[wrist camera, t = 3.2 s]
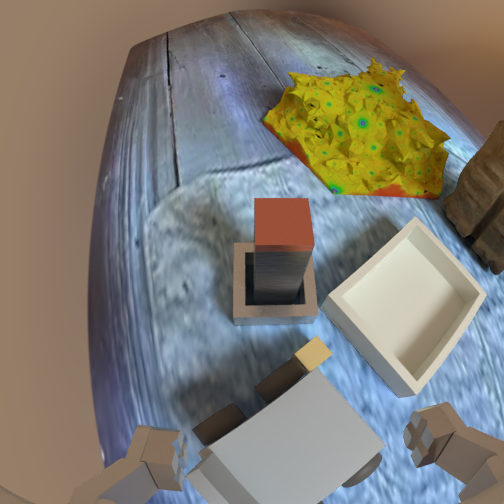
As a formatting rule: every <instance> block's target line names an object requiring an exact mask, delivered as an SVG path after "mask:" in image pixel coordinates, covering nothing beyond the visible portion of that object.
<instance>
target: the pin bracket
mask: <svg viewBox="0 0 504 504" xmlns="http://www.w3.org/2000/svg"><path fill="white" fill-rule="evenodd" d="M245 265H254V243H234V269H233V320H234V325H235V326H245V325H291V324H313V323H314V321H315V320H316V318H317V317H318V305H317V295H316V285H315V276H314V267H313V258H312V254H311V257H310V259H309V262H308V265H307V268H306V271H305V274H304V276H303V279H302V282H301V285H300V287H299V291H300V304H301V305H263V306H246V270H245Z"/></svg>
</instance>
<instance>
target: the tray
mask: <svg viewBox="0 0 504 504" xmlns="http://www.w3.org/2000/svg"><path fill="white" fill-rule="evenodd" d="M486 295H487V294H486V292H485V291H484V290H483V289H482V288H481V286H480V285H479V284H478V283H477V282H476V280H475V279H474V278H473V277H472V276H471V274H470V273H469V272H468V271H467V270H466V269H465V268H464V266H463V265H462V264H461V263H460V262H459V261H458V260H457V259H456V258H455V256H454V255H453V254H452V253H451V252H450V251H449V250H448V249H447V248H446V247H445V246H444V245H443V244H442V243H441V241H440V240H439V239H438V238H437V237H436V236H435V235H434V234H433V233H432V232H431V231H430V230H429V229H428V228H427V227H426V226H425V225H424V224H423V223H422V222H421V221H420V220H419V219H418V218H417V217H416V216H415V217H414V218H413V219H412V220H411V221H410V222H409V223H408V224H407V225H406V226H405V227H404V228H403V229H402V230H401V231H399V232H398V233H397V234H396V235H395V236H394V237H393V238H392V239H391V240H390V241H389V242H388V243H387V244H386V245H384V246H383V247H382V248H381V249H380V250H379V251H378V252H377V253H376V254H375V255H373V256H372V257H371V258H370V259H369V260H368V261H367V262H366V263H365V264H363V265H362V266H361V267H360V268H359V269H358V270H357V271H355V272H354V273H353V274H352V275H351V276H350V277H349V278H347V279H346V280H345V281H344V282H343V283H342V284H340V285H339V286H338V287H337V288H336V289H334V290H333V291H332V292H331V293H330V294H328V296H327V297H326V299H325V301H324V302H323V304H322V305H321V307H320V309H321V310H322V311H323V312H324V313H325V315H326V316H327V317H328V318H329V319H330V320H331V321H332V322H333V324H334V325H335V326H336V327H337V328H338V329H339V330H340V332H341V333H342V334H343V335H344V336H345V337H346V338H347V339H348V341H349V342H350V343H351V344H352V345H353V346H354V347H355V348H356V350H357V351H358V352H359V353H360V354H361V355H362V356H363V358H364V359H365V360H366V361H367V362H368V363H369V364H370V366H371V367H372V368H373V369H374V370H375V371H376V372H377V374H378V375H379V376H380V377H381V378H382V379H383V380H384V382H385V383H386V384H387V385H388V386H389V387H390V388H391V390H392V391H393V392H394V393H395V394H396V395H397V397H398V398H402V397H408V396H414V395H417V394H418V393H419V392H420V390H421V389H422V388H423V387H424V386H425V384H426V383H427V382H428V381H429V379H430V378H431V377H432V376H433V374H434V373H435V372H436V371H437V369H438V368H439V367H440V365H441V364H442V363H443V361H444V360H445V359H446V357H447V356H448V354H449V353H450V352H451V350H452V349H453V347H454V346H455V345H456V343H457V342H458V340H459V339H460V337H461V336H462V334H463V333H464V331H465V330H466V328H467V327H468V325H469V324H470V322H471V320H472V319H473V317H474V316H475V314H476V312H477V311H478V309H479V307H480V306H481V304H482V302H483V300H484V299H485V297H486Z"/></svg>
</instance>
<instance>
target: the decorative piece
mask: <svg viewBox="0 0 504 504" xmlns="http://www.w3.org/2000/svg"><path fill="white" fill-rule="evenodd" d="M389 67H390V66H389ZM366 68H369V70H368V71H366V72H365V73H364V72H363V71H362V72H360V73H359V77H358V76H352V78H351V76H350V74H345V75H342V76H338V77H335V78H329V77H322V76H321V78H320V79H319V77H318V76H312V75H310V76H309V75H306V74H300V73H292V72H287V73H288V74H289V76H290V77H291V79H292V81H293V82H294V85H295V88H294V87H291V86H290V87H286V89H285V91H284V94H283V96H282V98H281V101H280V103H279V104H277V105H276V106H275V107H274V108H273V109H272V110H270V111H269V112H268V114H267V116H266V117H265V118H264V119H263V125H264V126H266V127H267V128H268V129H269V130H270V131H271V132H272V133H273V134H274V135H275V136H276V137H277V138H278V139H279V140H280V141H281V142H282V143H283V144H285V145H286V146H287V147H288V148H289V149H290V150H291V151H292V152H293V153H294V154H295V155H296V156H297V157H298V158H299V159H300V160H301V161H302V162H303V163H304V164H305V165H306V166H307V167H308V168H309V169H310V170H311V171H312V172H313V173H314V174H315V175H316V176H317V177H318V179H319V180H320V181H321V182H322V183H323V184H324V185H325V186H326V187H327V188H328V189H329V190H330V191H331V192H332V193H333V194H342V195H371V196H392V197H410V198H425V199H438V198H439V197H440V195H441V191H442V185H443V170H444V167H445V164H446V161H447V158H448V155H449V153H448V152H447V151H446V150H444V149H443V146H444V142H445V141H447V140H449V139H451V138H450V137H449V136H448V135H447V134H446V133H445V132H443V131H442V130H440V129H438V128H437V127H435V126H434V125H433V124H432V123H430V122H429V121H426V120H424V118H423V115H422V113H421V110H420V108H419V106H418V104H417V103H416V101H414V100H413V99H411V102H407V101H406V100H405V99H403V96H402V95H403V94H406V91H404V85H403V86H401V87H400V86H399V80H402V78H401V75H402V74H403V73H404V72H405V71H406V70H398V71H396V70H394V68H392V67H390V70H391V72H389V71H385V70H382V65H381V64H379V63H376V62H375V59H373V58H372V57H371V65H370V66H368V67H366ZM315 133H316V134H317V135H318V136H320V137H321V138H323V139H321V138H318V137H317V136H316V134H315ZM424 191H428V192H426V193H424Z"/></svg>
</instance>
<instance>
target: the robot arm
mask: <svg viewBox="0 0 504 504" xmlns="http://www.w3.org/2000/svg"><path fill="white" fill-rule="evenodd" d="M410 420H411V422H410V423H409V424H407V425H406V427H405V430H404V437H403V438H404V443H405V445H406V447H407V448H408V449H410V450H412V453H411V457H412V460H413V462H414V464H415V466H416V468H419V467H422V466H425V465H428V464H432V463H435V464H437V465H438V466H439V467H441V468H442V469H444V470H445V471H447V472H448V473H449V474H451V475H452V476H454V477H455V478H457V479H458V480H460V481H461V482H463V483H464V484H466V486H465V487H464V488H463V489H462V491H461V492H460V493H459V495H458V496H459V498H460V500H461V502H460V503H458V504H504V441H501V440H499V439H497V438H494V437H492V436H490V435H488V434H485V433H483V432H481V431H479V430H476V429H474V428H472V427H466V425H465V424H464V423H463V421H462V420H461V418H460V417H459V416H458V414H457V413H456V411H455V410H454V409H453V407H452V406H451V404H450V403H448V402H444V403H441V404H437V405H433V406H429V407H426V408H422V409H419V410H415V411H413V412H412V413H411V416H410ZM183 438H184V435H183V432H182V430H177V429H168V428H160V427H152V426H145V425H139V426H138V427H137V428H136V430H135V433H134V436H133V439H132V441H131V444H130V447H129V449H128V452H127V455H126V458H125V459H124V458H121V459H119V460H118V461H116V462H115V463H113V464H112V465H110V466H109V467H107V468H106V469H104V470H103V471H101V472H100V473H98V474H97V475H95V476H94V477H92V478H91V479H89V480H88V481H86V482H84V483H83V484H81V485H80V486H78V487H76V488H75V489H74V491H73V494H72V496H71V498H70V501H69V503H68V504H145V503H146V502H147V501H148V500H149V499H150V498H151V497H152V496H153V495H154V494H155V493H156V492H157V491H158V489H163V490H172V491H182V490H183V484H184V478H185V476H184V473H183V470H184V469H185V468H186V467H187V457H188V452H187V446H186V443H184V442H183ZM0 504H34V503H32V502H29V501H28V500H26V499H24V498H22V497H20V496H18V495H16V494H14V493H12V492H10V491H9V490H7V489H5V488H3V487H2V486H0Z"/></svg>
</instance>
